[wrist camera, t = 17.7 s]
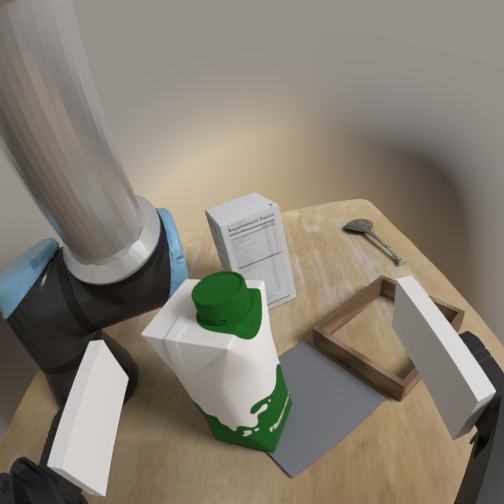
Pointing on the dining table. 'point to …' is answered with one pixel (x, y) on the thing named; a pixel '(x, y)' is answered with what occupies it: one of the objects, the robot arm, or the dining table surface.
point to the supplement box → (254, 244)
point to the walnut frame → (359, 361)
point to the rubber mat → (319, 407)
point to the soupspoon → (366, 226)
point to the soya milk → (225, 357)
